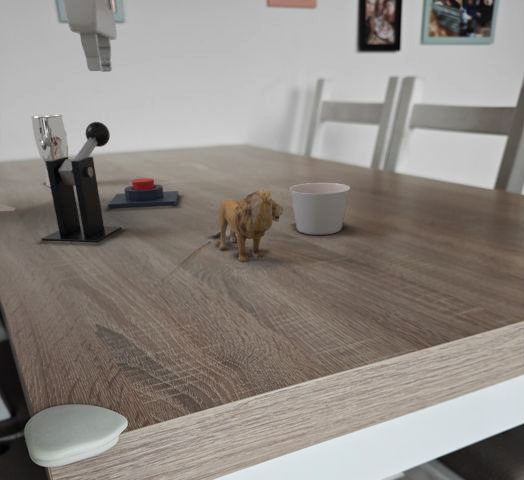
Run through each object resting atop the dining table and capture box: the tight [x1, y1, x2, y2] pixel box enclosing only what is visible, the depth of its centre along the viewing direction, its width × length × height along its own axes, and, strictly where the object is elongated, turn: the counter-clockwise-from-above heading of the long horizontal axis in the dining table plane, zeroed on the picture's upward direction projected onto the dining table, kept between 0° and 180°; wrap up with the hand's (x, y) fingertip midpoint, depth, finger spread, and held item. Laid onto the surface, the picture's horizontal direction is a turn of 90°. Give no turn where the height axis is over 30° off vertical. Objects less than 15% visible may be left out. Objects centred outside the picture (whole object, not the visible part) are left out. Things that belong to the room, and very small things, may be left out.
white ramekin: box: [289, 182, 351, 236], centre depth 84 cm, size 9×9×6 cm
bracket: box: [41, 156, 123, 244], centre depth 81 cm, size 8×9×12 cm
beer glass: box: [31, 114, 69, 188], centre depth 126 cm, size 7×7×15 cm
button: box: [131, 177, 155, 190], centre depth 103 cm, size 4×4×2 cm
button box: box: [108, 183, 180, 210], centre depth 104 cm, size 12×10×4 cm
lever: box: [58, 121, 111, 186], centre depth 83 cm, size 13×4×4 cm, turn 167°
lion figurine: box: [213, 189, 284, 262], centre depth 74 cm, size 15×5×9 cm, turn 35°
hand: (100, 71), depth 84 cm, fingers open, 8 cm apart
